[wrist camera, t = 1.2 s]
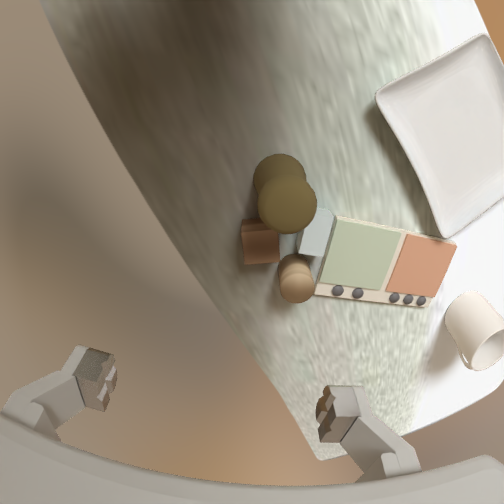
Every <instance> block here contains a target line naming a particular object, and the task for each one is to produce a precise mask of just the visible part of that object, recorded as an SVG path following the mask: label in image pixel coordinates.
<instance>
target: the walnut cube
mask: <svg viewBox="0 0 504 504" xmlns="http://www.w3.org/2000/svg"><path fill="white" fill-rule="evenodd" d="M241 237H242V245H243V254H244V262H245V265H248V264H261V263H274V262H280V252H279V237H278V232H275V231H273V230H271V229H270V228H268V227H267V226H266V225H265V223H264V222H263V221H262V220H261V218H254V219H243V220H242V228H241Z"/></svg>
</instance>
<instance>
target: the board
mask: <svg viewBox="0 0 504 504" xmlns="http://www.w3.org/2000/svg"><path fill="white" fill-rule="evenodd" d="M456 248H457V246H456V243H455V242H454V241H450V240H446V239H442V238H438V237H434V236H430V235H426V234H421V233H417V232H413V231H408V230H404V229H400V228H395V227H390V226H386V225H381V224H377V223H372V222H367V221H362V220H357V219H353V218H348V217H343V216H337V215H336V216H335V219H334V223H333V227H332V230H331V234H330V237H329V241H328V244H327V248H326V251H325V255H324V258H323V261H322V265H321V268H320V271H319V275H318V278H317V281H316V284H315V290H314V294H317V295H325V296H332V297H340V298H348V299H357V300H365V301H373V302H382V303H391V304H400V305H410V306H419V307H428V306H429V304H430V302H431V300H432V298H433V297H435V295H436V293H437V291H438V289H439V287H440V285H441V283H442V280H443V278H444V276H445V274H446V271H447V269H448V267H449V265H450V262H451V260H452V257H453V255H454V253H455V250H456Z"/></svg>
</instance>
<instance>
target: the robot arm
mask: <svg viewBox="0 0 504 504" xmlns="http://www.w3.org/2000/svg"><path fill="white" fill-rule="evenodd" d="M114 362H115V358H114V355H113V354H109V353H106V352H103V351H99V350H96V349H93V348H89V347H86V346H82V345H78V346H76V347H75V349H74V350H73V352H72V353H71V355H70V356H69V358H68V360H67V361H66V363H65V365H64V366H63V368H62V369H61V371H55V372H53V373H51V374H49V375H47V376H45V377H43V378H41V379H39V380H37V381H35V382H32V383H30V384H28V385H26V386H24V387H22V388H20V389H18V390H16V391H14V392H13V393H12V395H11V397H10V398H9V400H8V401H7V403H6V404H5V406H4V407H3V409H2V411H1V412H0V504H504V465H503V464H502V463H500V462H499V461H497V460H496V459H495V458H493V457H491V456H489V455H482V456H478V457H475V458H472V459H469V460H465V461H462V462H459V463H455V464H452V465H448V466H444V467H441V468H437V469H433V470H428V471H424V472H422V470H421V467H420V464H419V461H418V458H417V455H416V452H415V449H414V448H413V447H412V446H410V445H409V444H408V443H407V442H406V441H405V440H404V439H402V438H401V437H400V436H399V435H398V434H397V433H395V432H394V431H393V430H392V429H391V428H390V427H388V426H387V425H386V424H385V423H384V422H383V421H382V420H380V419H379V418H378V417H377V416H373V413H372V410H371V407H370V404H369V401H368V398H367V395H366V392H365V389H364V387H363V386H340V385H327V386H326V387H325V388H324V390H323V395H324V396H322V397H321V398H319V400H318V402H317V406H316V420H317V421H318V422H319V423H320V424H321V425H320V426H319V428H318V433H319V439H320V442H327V443H340V444H341V446H342V447H343V448H344V449H345V451H346V452H347V453H348V454H349V455H350V456H351V458H352V459H353V460H354V461H355V463H356V464H357V465H358V466H359V467H360V469H361V470H362V471H363V472H364V474H363V475H362V476H361V477H360V478H359V479H358V480H357V481H356V482H355V483H346V484H333V485H316V486H315V485H314V486H271V485H269V486H268V485H251V484H237V483H228V482H218V481H210V480H203V479H196V478H189V477H184V476H178V475H173V474H168V473H163V472H158V471H153V470H149V469H145V468H141V467H137V466H133V465H129V464H125V463H122V462H118V461H115V460H111V459H108V458H105V457H102V456H98V455H95V454H93V453H89V452H87V451H84V450H80V449H78V448H75V447H73V446H70V445H67V444H65V443H62V442H61V440H60V438H59V436H58V434H57V433H56V431H55V429H57V428H58V427H59V426H61V425H62V424H63V423H65V422H66V421H68V420H69V419H70V418H72V417H73V416H75V415H76V414H77V413H79V412H80V411H81V410H83V409H84V408H85V407H89V408H92V409H96V410H100V411H103V412H105V410H106V407H107V405H108V403H109V400H110V399H109V393H111V392H113V391H114V388H115V386H116V381H117V371H116V368H115V367H114V366H113V364H114Z"/></svg>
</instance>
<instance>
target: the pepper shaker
mask: <svg viewBox="0 0 504 504" xmlns="http://www.w3.org/2000/svg"><path fill="white" fill-rule="evenodd" d="M254 186H255V188H256V191H257V193H258V195H259V196H258V199H257V208H258V213H259V216H260V218H261V220H262V221H263V222H264V223H265V225H266V226H267V227H268V228H270V229H271V230H273V231H275V232H278V233H281V234H293V233H296V232H299V231H302V230H303V229H304V228H306V227H307V226H308V225H309V224H310V223H311V222H312V220H313V219H314V216H315V213H316V210H317V199H316V196H315V192H314V191H313V189H312V188H311V187H310V185H309V184H308V183H307V182H306V174H305V171H304V168H303V167H302V165H301V164H300V163H299V161H298V160H296V159H295V158H293V157H292V156H289V155H285V154H274V155H271V156H268V157H266V158H265V159H264V160H262V161H261V162H260V163H259V165H258V166H257V168H256V170H255V173H254Z"/></svg>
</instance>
